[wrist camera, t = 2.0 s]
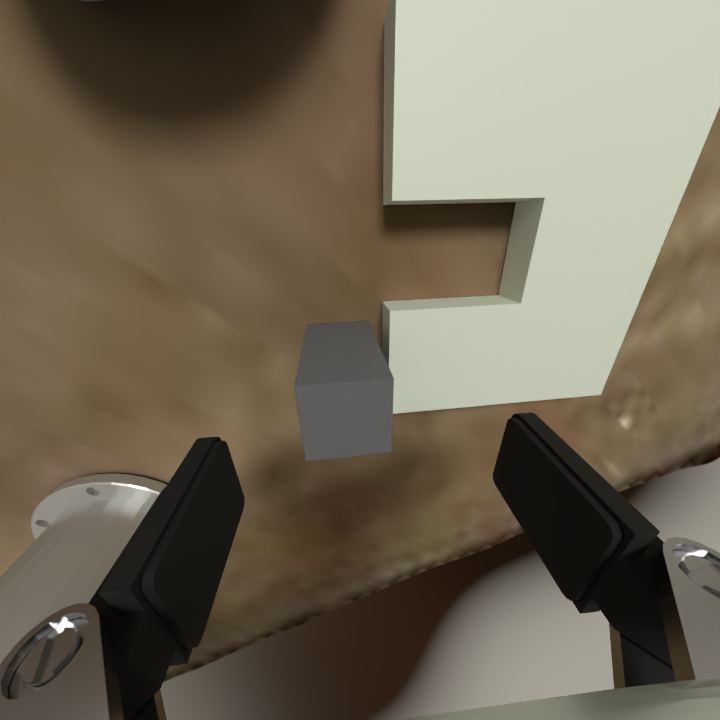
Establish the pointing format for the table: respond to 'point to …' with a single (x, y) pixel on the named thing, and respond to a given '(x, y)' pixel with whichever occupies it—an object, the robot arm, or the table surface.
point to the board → (541, 178)
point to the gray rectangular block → (344, 392)
